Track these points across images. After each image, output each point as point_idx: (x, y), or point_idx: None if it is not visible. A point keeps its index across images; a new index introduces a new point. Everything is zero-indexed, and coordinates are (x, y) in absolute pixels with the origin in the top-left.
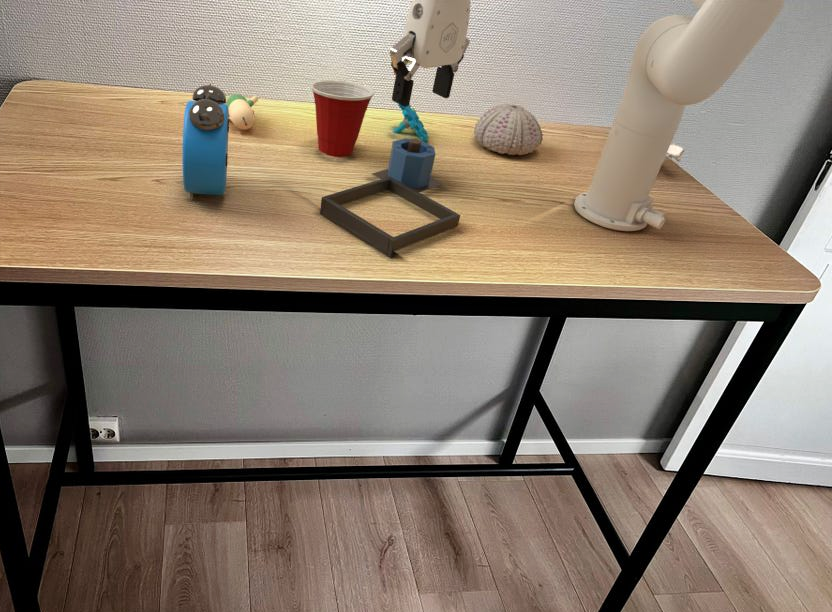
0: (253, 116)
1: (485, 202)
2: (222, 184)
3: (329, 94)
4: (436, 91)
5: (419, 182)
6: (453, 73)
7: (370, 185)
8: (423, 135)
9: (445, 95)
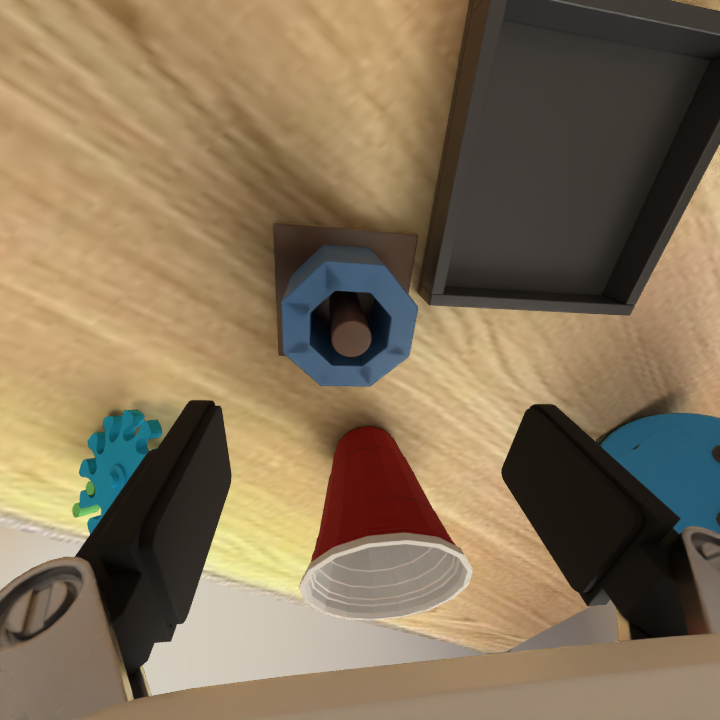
0: None
1: (214, 64)
2: (717, 417)
3: (469, 569)
4: (225, 468)
5: (369, 249)
6: (113, 545)
7: (507, 297)
8: (130, 426)
9: (217, 414)
